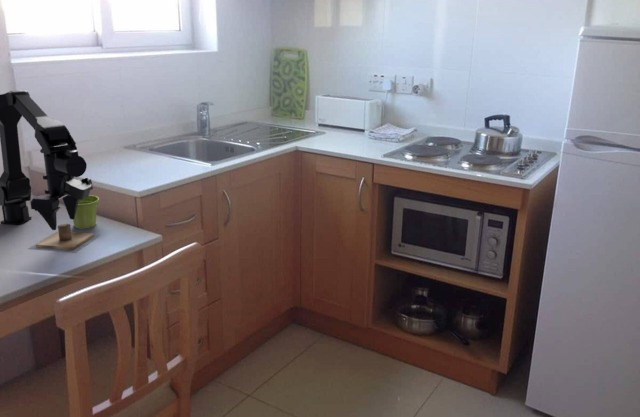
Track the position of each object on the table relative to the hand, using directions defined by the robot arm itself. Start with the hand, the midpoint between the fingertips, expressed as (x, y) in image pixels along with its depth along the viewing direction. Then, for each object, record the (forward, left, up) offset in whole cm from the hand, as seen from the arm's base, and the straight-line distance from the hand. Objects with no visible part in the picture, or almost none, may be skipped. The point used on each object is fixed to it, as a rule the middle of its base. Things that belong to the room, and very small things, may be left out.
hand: (63, 224), depth 162 cm
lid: (0, 0, -5) cm, 5 cm away
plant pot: (-2, +14, -6) cm, 15 cm away
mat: (0, 0, -6) cm, 6 cm away
